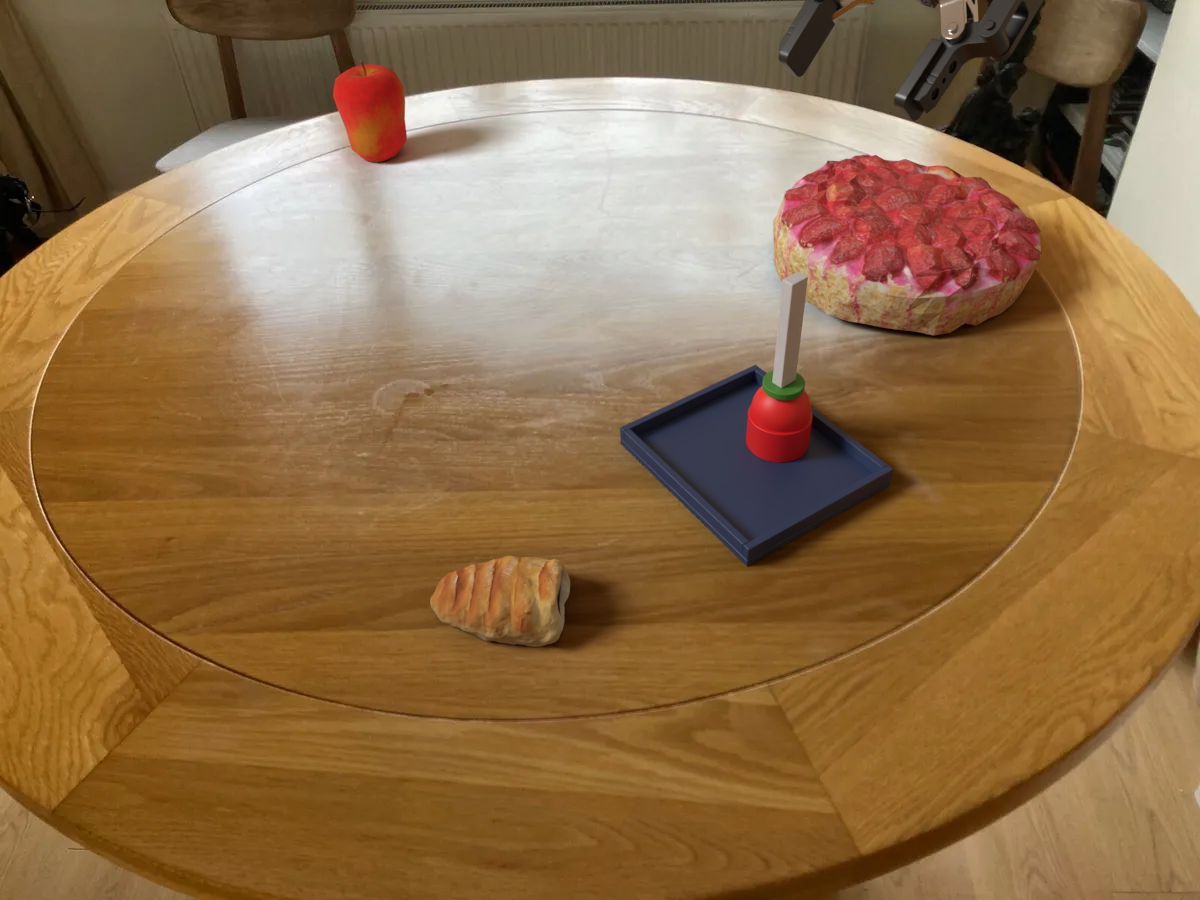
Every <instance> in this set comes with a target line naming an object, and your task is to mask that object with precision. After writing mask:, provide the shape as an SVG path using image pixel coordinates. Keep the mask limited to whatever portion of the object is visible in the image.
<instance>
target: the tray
mask: <svg viewBox="0 0 1200 900" xmlns="http://www.w3.org/2000/svg"><path fill="white" fill-rule="evenodd" d="M767 373H768V372H766V371H765V370H764V369H763V368H762V367H759V366H758V365H757V364H754V365H751V366H749V367H747V368H745V369H743V370H741V371H738V372H737V373H734V374H732V375H730V376H728V377H726V378H724V379H721V380H719V381H717V382H715V383H712V384H710V385H708V386H706V387H704V388H702V389H700V390H698V391H695V392H693V393H691V394H689V395H687V396H685V397H682V398H680V399H678V400H676V401H675V402H672V403H670V404H668V405H667V404H666V405H665V406H663V407H661V408H659V409H656V410H654V411H652V412H650V413H648V414H646V415H644V416H642V417H639V418H637V419H635V420H633V421H630V422H628V423H627V424H624V425H622V426H620V427H619V436H620V437H619V438H620V439H619V440H620V445H621V446H622V447H623V448H624V449H626V450H627V451H628V453H630V455H632V456H633V457H634V458H635V460H636V461H638V462H639V463H640V464H641V465H642V466H643V467H644V468H645V469H646V470H647V471H648V472H649V473H650V474H651V475H652V476H653V477H654V478H655V479H656V480H657V481H658V482H659V483H660V484H662V486H664V488H666V489H667V490H668V491H669V492H670V493H671V494H672V495H673V496H674V497H675V498H676V499H677V500H678V501H679V502H680V504H682V506H684V507H685V508H686V509H687V510H688V511H689V512H690V513H691V514H692V515H693V516H694V517H696V519H698V521H700V522H701V523H702V524H703V525H704V526H705V527H706V528H707V529H708V530H709V531H710V532H711V533H712V534H713V535H714V536H715V537H716V538H717V539H718V540H719V541H720V542H721V543H722V544H723V545H724V546H725V547H726V548H728V550H729V551H731V552H732V554H733V555H734V556H736V557H737V559H738V560H739V561H741V562H742V563H743V564H744V565H745V566H746V567H748V566H751V565H752V564H753V563H756V562H758V561H759V560H761V559H762V558H764V557H766V556H768V555H770V554H771V553H773V552H775V551H776V550H779V549H780V548H782V547H784V546H786V545H787V544H789V543H791V542H793V541H795V540H796V539H798V538H800V537H802V536H804V535H805V534H807V533H809V532H810V531H812V530H814V529H815V528H818V527H819V526H821V525H822V524H824V523H826V522H828V521H830V520H832V519H833V518H835V517H837V516H839V515H840V514H842V513H844V512H846V511H848V510H850V509H851V508H853V507H855V506H857V505H858V504H860V503H862V502H863V501H866V500H867V499H869V498H870V497H872V496H874V495H876V494H877V493H880V492H881V491H883V490H885V489H887V488H888V487H890V486H891V482H892V477H893V472H894V468H893V467H892V466H890V465H888V463H886V462H885V461H883V460H882V459H881V458H880V457H878V456H877V455H876V454H874V452H872V451H870V450H869V449H868V448H867V447H865V446H864V445H862V443H860V442H859V441H857V440H856V439H855V438H853V437H852V436H851V435H850V434H848V433H847V432H845V431H844V430H843V429H842V428H840V427H839V426H838V425H836V424H835V423H834V422H832V421H831V420H830V419H828V418H827V417H826V416H824V415H823V414H821V412H819V411H817V410H816V409H815V408H814V407H813V406H811V412H812V415H813V418H812V426H811V433H810V440H809V446H808V449H807V451H806V452H805V454H804V455H803V456H801V457H800V458H798V459H796V460H794V461H790V462H783V463H777V462H770V461H766V460H763V459H761V458H759V457H757V456H756V455H754V454H753V453H752V452H751V451H750V450H749V448H748V446H747V443H746V433H747V421H748V410H749V407H750V406H751V404H752V400H753V397H754V395H755V394H756V392H757V391H758V390H759V388H760V387H762V383H763V378H764V376H765V375H766V374H767Z"/></svg>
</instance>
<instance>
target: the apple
mask: <svg viewBox="0 0 1200 900" xmlns="http://www.w3.org/2000/svg"><path fill="white" fill-rule="evenodd" d="M359 63H360V64H359V65H356V66H352V67H350V68H349V69H346V70H345V71H344V72H342V73H341V74H339V75H338V76H337V77H336V78H335V79H334V85H333V92H332V93H333V94H332V98H333V100H334V103H335V105H336V109H337V111H338V113H339V116H340V118H341V121H342V123H343V125H344V127H345V130H346V131H345V132H346V134H347V138H348V141H349V144H350V149H351V150H352V151H353V152H354V153H356V154H357V156H358V157H360V158H362V159H363V160H364V161H365V162H369V163H381V162H385V161H388V160H390V159H393V158H394V157H396V156H397V155H398V154H399V153H400V152H401V150H402V148H403V147H404V146H405V144H407V142H408V135H407V125H406V96H405V87H404V84H403V81H402V80H401V79H400V78H399V76H398V75H397V73H396V72H395V71H394V70H393V69H392V68H390V67H388V66H384V65H381V64H376V63H375V64H373V63H372V64H371V63H365V64H364V62H363V60H362V59H361V60H360V61H359Z"/></svg>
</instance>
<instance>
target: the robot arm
mask: <svg viewBox="0 0 1200 900" xmlns="http://www.w3.org/2000/svg"><path fill="white" fill-rule="evenodd" d="M916 1H917V2H918V3H920V4H921V5H922V6H925V7H929V8H932V9H936V7H937V6H938V5H939V10H940V11H939V13H940V34H941V36H940V38H939V39H936V38H934V37H931V39H930V40H929V42H928V43H927V45H926V47H925V48H924V50H923V51H922V53H921V55H920V56H919V58H918V59H917V60H916V62H915V64H914V65H913V66H912V68H911V70H910V72H909V73H908V74H907V76H906V78H905V79H904V81H903V82H902V84H901V85H900V87H899V88H898V90H897V92H896V93H895V95H894V98H893V105H894V106H895V108H896V110H897V111H898V112H899V114H900V115H901V117H902V118H904V119H907V120H909V121H913V122H916V121H918V120H919V119H920V118H921V117H922V115H923V114H929V113H930V112H931V111H933V109H935V108H936V106H937V105H938V104H939V102H940V100H941V99H942V97H943V96H944V95H945V93H946V90H948V89H949V87H950V85H951V84H952V82H953V81H954V79H955V77H956V76H957V75H958V73H959V71H960V70H961V68H962V67H963V66H964V65H965V64H966V63H969V62H971V61H973V60H974V59H978V58H979V59H980V58H990V59H991V60H992V61H993V62H995V63H1000V62H1001V63H1002V62H1004V61H1006V60H1008V59H1009V58H1010V57H1011V56H1012V55H1013V53H1014V51H1015V50H1016V48H1017V46H1018V45H1019V43H1020V41H1021V40H1022V38H1023V36H1024V34H1025V32H1026V31H1027V29H1028V28H1029V26H1030V24H1031V23H1032V21H1033V20H1034V17H1035V16H1036V14H1037V12H1038V10H1039V9H1040V7H1041V6H1042V4H1043V2H1044V1H1045V0H992V1H991V2H990V4H989V6H988V7H987V9H986V11H985V13H984V15H983V16H982V18H981V20H979V6H978V5H979V3H978V0H916ZM873 2H876V0H804V2H803V5H802V6H801V8H800V10H799V11H798V12H797V14H796V16H795V17H794V19H793V20H792V23H791V24H790V26H789V27H788V29H787V30H786V32H785V34H784V35H783V37H782V39H781V40H780V42H779V47H778V51H779V53H778V62H779V63H780V64H781V66H782V67H783V68H784V69H785V70H786V72H787V73H788V74H789V75H793V76H795V77H798V78H801V77H803V76H804V75H805V74H806V72H807V70H808V69H809V67H810V65H811V64H812V63H813V61H814V59H815V57H817V54H818V53H819V51H820V49H821V48H822V46H823V45H824V43H825V42H826V40H827V38H828V37H829V35H830V34H831V32H832V30H833V29H834V27H835V25H836V23H835V22H834V20H836V19H838V18H839V17H841V16H842V15H844V14H845V13H847V12H848V11H850V10H852V9H853V8H854V7H856V6H858V5H860V4H864V5H865V4H866V5H868V4H872V3H873Z"/></svg>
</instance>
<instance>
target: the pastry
mask: <svg viewBox="0 0 1200 900" xmlns="http://www.w3.org/2000/svg"><path fill="white" fill-rule="evenodd" d="M570 592H571V579H570V576H569V573H568V571H567V569H566V567H565V564H564V563H562V561H560V560H559V559H557V558H553V559H546V558H542V557H537V556H523V557H519V556H514V555H504V556H503V557H499V558H493V559H491V560H489V561H486V562H485V561H484V562H483V561H482V562H478V563H475V564H474V563H473V564H471V565H468V566H463V567H460V568H458V569H456V570H453V571H449V572H447V573H446V574H445V575H444V576H443V577H442V578H441V579H440V580H439V581H438V584H437V586H436V587H435V590H434V592H433V593H432V595H431V596H430V599H429V605H430V607H431V609H432V610H433V612H434V613H435V615H436V616H437V618H438V619H439V620H440V622H441V623H443V624H445V625H448V626H451V627H452V628H457V629H459V630H460V631H462V632H464V633H469V634H472V635H474V636H476V637H478V638H479V639H481V640H483V641H484V642H496V643H500V644H509V645H513V646H514V645H523V646H526V647H533V648H537V647H539V648H540V647H544V646H547V645H552V644H554V643H556V642H557V641H559V639H560V637H561V634H562V632H563V630H564V627H565V622H566V621H565V614H566V612H565V604H566V602H567V600H568V599H569V597H570V594H571V593H570Z"/></svg>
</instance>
